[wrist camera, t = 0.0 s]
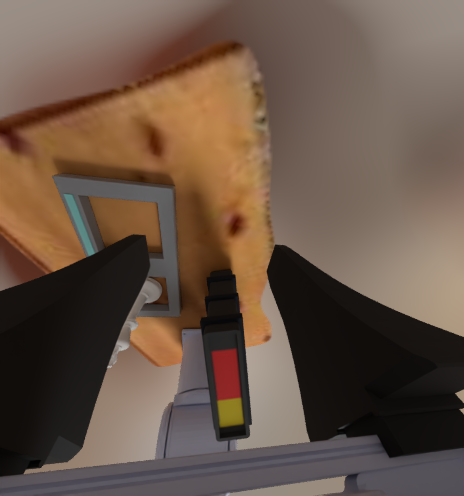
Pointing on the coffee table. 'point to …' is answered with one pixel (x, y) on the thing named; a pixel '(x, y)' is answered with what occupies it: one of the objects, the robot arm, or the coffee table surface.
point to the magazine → (226, 358)
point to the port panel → (82, 216)
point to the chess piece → (146, 295)
